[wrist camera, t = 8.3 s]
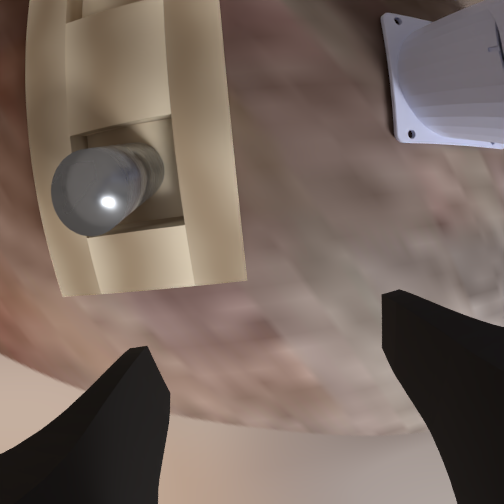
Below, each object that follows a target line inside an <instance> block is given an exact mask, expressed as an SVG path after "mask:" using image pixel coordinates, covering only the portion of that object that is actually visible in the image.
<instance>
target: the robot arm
mask: <svg viewBox="0 0 504 504" xmlns="http://www.w3.org/2000/svg"><path fill="white" fill-rule="evenodd" d="M394 19H396V20H397V21H398V22H399V25H398V24H396V23H395V21H394ZM381 25H382V30H383V36H384V42H385V49H386V55H387V63H388V70H389V79H390V88H391V98H392V109H393V122H394V135H395V138H396V140H398V141H399V142H402V143H428V144H448V145H463V146H475V147H486V148H496V149H503V148H504V0H484V1H482V2H479V3H476V4H474V5H471V6H469V7H466V8H464V9H462V10H459V11H457V12H454V13H452V14H450V15H448V16H445V17H443V18H441V19H439V20H436V21H434V22H431V21H427V20H422V19H418V18H413V17H409V16H404V15H399V14H393V13H385V14H383V15H382V16H381ZM409 130H410V131H411V132H412V137H411V138H409V136H408V132H409ZM382 349H383V351H384V353H385V355H386V357H387V360H388V362H389V364H390V366H391V368H392V370H393V372H394V374H395V376H396V377H397V379H398V380H399V382H400V384H401V385H402V387H403V388H404V390H405V391H406V393H407V395H408V396H409V398H410V399H411V401H412V402H413V404H414V405H415V407H416V409H417V410H418V412H419V413H420V415H421V417H422V418H423V420H424V421H425V423H426V425H427V427H428V429H429V430H430V432H431V434H432V436H433V439H434V441H435V443H436V446H437V448H438V450H439V452H440V455H441V457H442V460H443V462H444V465H445V468H446V470H447V473H448V476H449V478H450V481H451V484H452V488H453V491H454V494H455V497H456V501H457V504H504V327H501V326H497V325H493V324H490V323H486V322H483V321H480V320H477V319H474V318H471V317H469V316H466V315H463V314H460V313H458V312H455V311H453V310H450V309H448V308H445V307H443V306H440V305H438V304H435V303H433V302H431V301H428V300H426V299H423V298H421V297H419V296H416V295H414V294H411V293H408V292H406V291H403V290H396V291H392V292H389V293H385V294H382ZM169 416H170V392H169V390H168V388H167V386H166V384H165V382H164V380H163V378H162V376H161V374H160V372H159V370H158V368H157V366H156V363H155V361H154V359H153V357H152V355H151V353H150V351H149V348H148V346H143V347H136V348H130V349H129V350H128V351H126V352H125V353H124V354H123V355H122V356H121V357H120V358H119V359H118V360H117V361H116V362H115V363H114V364H113V365H112V366H111V367H110V368H109V369H108V370H107V371H106V372H105V373H104V374H103V375H102V376H101V377H100V378H99V379H98V380H97V381H96V382H95V383H94V384H93V385H92V386H91V387H90V388H89V389H88V390H87V391H86V392H85V393H83V394H82V395H81V397H79V398H78V399H77V400H76V401H75V402H74V403H73V404H72V405H71V406H70V407H69V408H68V409H66V410H65V411H64V412H63V413H62V414H61V415H59V416H58V417H57V418H56V419H54V420H53V421H52V422H50V423H49V424H48V425H47V426H45V427H44V428H43V429H41V430H40V431H38V432H37V433H35V434H34V435H32V436H31V437H29V438H28V439H26V440H24V441H23V442H21V443H20V444H18V445H17V446H15V447H13V448H12V449H9V450H7V451H6V452H4V453H2V454H0V504H158V486H159V478H160V472H161V466H162V460H163V454H164V448H165V443H166V437H167V431H168V425H169Z"/></svg>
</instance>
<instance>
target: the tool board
mask: <svg viewBox="0 0 504 504" xmlns="http://www.w3.org/2000/svg"><path fill="white" fill-rule="evenodd" d="M25 85H26V110H27V125H28V136H29V146H30V154H31V162H32V169H33V176H34V182H35V188H36V194H37V199H38V204H39V209H40V214H41V219H42V223H43V228H44V232H45V236H46V240H47V244H48V248H49V252H50V256H51V260H52V263H53V267H54V270H55V274H56V277H57V280H58V284H59V287H60V290H61V293H62V296H63V297H69V296H83V295H96V294H109V293H121V292H133V291H145V290H156V289H167V288H178V287H188V286H199V285H209V284H219V283H228V282H238V281H247V274H246V265H245V256H244V246H243V237H242V227H241V218H240V208H239V199H238V189H237V179H236V169H235V160H234V150H233V140H232V130H231V120H230V109H229V99H228V89H227V79H226V68H225V58H224V47H223V36H222V26H221V15H220V4H219V0H30V2H29V11H28V22H27V35H26V59H25ZM135 142H140V143H145V144H148V145H150V146H151V147H153V148H154V149H155V150H156V151H157V152H158V153H159V155H160V156H161V158H162V160H163V163H164V170H165V172H164V179H163V182H162V184H161V186H160V188H159V189H158V191H157V192H156V193H155V194H154V195H152V196H151V197H150V198H149V199H147V200H146V201H145V202H144V203H142V204H141V205H140V206H139V207H138V208H136V209H135V210H134V211H133V212H131V213H130V214H129V215H128V216H127V217H125V218H124V219H123V220H122V221H121V222H120V223H118V224H117V225H116V226H115V227H114V228H112V229H111V230H110V231H108V232H106V233H104V234H102V235H98V236H83V235H80V234H77V233H75V232H73V231H71V230H70V229H69V228H67V227H66V226H65V225H64V224H63V223H62V221H61V220H60V219H59V217H58V216H57V214H56V212H55V209H54V207H53V203H52V198H51V184H52V179H53V176H54V173H55V171H56V169H57V167H58V166H59V164H60V163H61V162H62V160H63V159H64V158H66V157H67V156H68V155H70V154H71V153H73V152H75V151H78V150H82V149H88V148H95V147H102V146H110V145H118V144H126V143H135Z"/></svg>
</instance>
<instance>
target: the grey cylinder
mask: <svg viewBox="0 0 504 504" xmlns="http://www.w3.org/2000/svg"><path fill="white" fill-rule="evenodd" d="M164 172H165V170H164V163H163V160H162V158H161V156H160V155H159V153H158V152H157V151H156V150H155V149H154V148H153V147H151V146H150V145H148V144H145V143H140V142H135V143H126V144H118V145H110V146H102V147H95V148H88V149H82V150H78V151H75V152H73V153H71V154H70V155H68V156H67V157H66V158H64V159H63V160H62V162H61V163H60V164H59V166H58V167H57V169H56V171H55V173H54V176H53V179H52V184H51V198H52V203H53V207H54V209H55V212H56V214H57V216H58V217H59V219H60V220H61V221H62V223H63V224H64V225H65V226H66V227H67V228H69V229H70V230H71V231H73V232H75V233H77V234H80V235H83V236H98V235H102V234H104V233H106V232H108V231H110V230H111V229H112V228H114V227H115V226H116V225H117V224H118V223H120V222H121V221H122V220H123V219H124V218H125V217H127V216H128V215H129V214H130V213H131V212H133V211H134V210H135V209H136V208H138V207H139V206H140V205H141V204H142V203H144V202H145V201H146V200H147V199H149V198H150V197H151V196H152V195H154V194H155V193H156V192H157V191H158V189H159V188H160V186H161V184H162V182H163V179H164Z"/></svg>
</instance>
